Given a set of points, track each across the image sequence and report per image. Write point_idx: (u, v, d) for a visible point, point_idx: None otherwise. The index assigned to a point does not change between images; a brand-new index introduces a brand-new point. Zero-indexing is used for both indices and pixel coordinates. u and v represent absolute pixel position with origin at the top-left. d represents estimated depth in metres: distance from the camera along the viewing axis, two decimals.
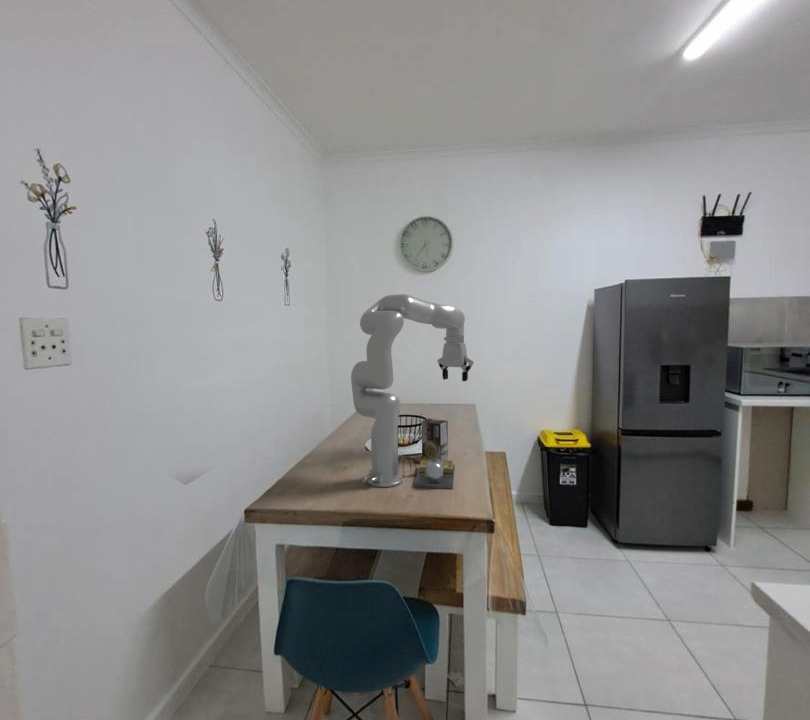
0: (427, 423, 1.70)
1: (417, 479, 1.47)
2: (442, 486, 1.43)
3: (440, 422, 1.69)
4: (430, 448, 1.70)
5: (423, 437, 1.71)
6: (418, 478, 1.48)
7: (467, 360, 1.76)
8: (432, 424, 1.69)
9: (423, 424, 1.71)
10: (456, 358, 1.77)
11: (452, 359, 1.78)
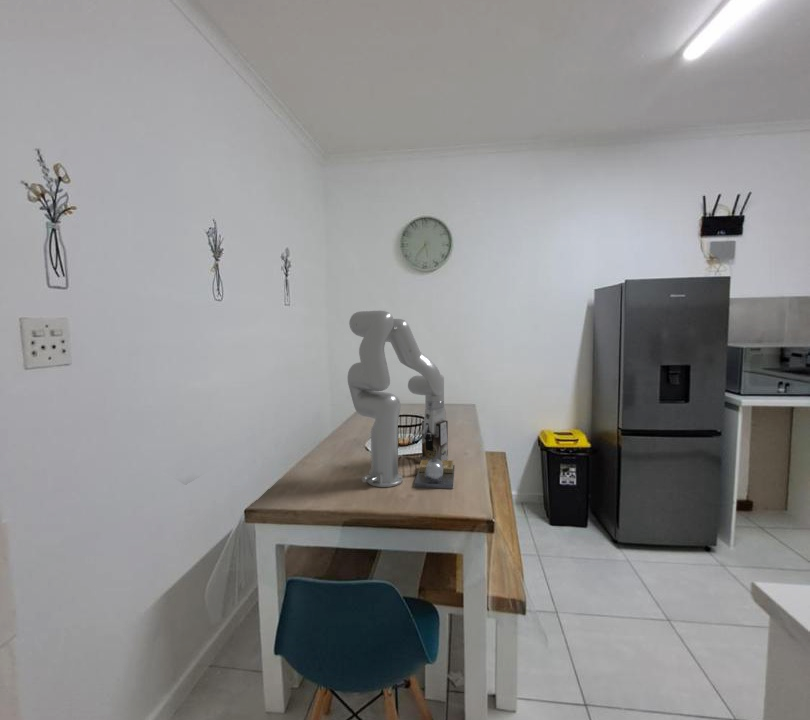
0: None
1: (417, 479, 1.47)
2: (442, 486, 1.43)
3: (440, 422, 1.69)
4: None
5: (423, 437, 1.71)
6: (418, 478, 1.48)
7: None
8: None
9: (423, 424, 1.71)
10: None
11: None
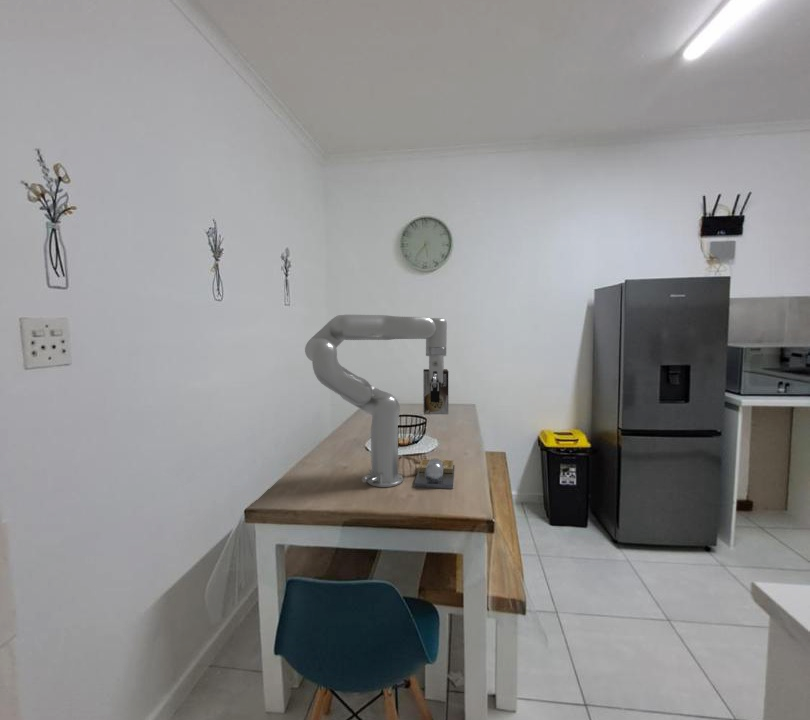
0: None
1: (417, 479, 1.47)
2: (442, 486, 1.43)
3: (444, 370, 1.54)
4: None
5: (426, 388, 1.53)
6: (418, 478, 1.48)
7: None
8: None
9: (427, 374, 1.52)
10: None
11: None
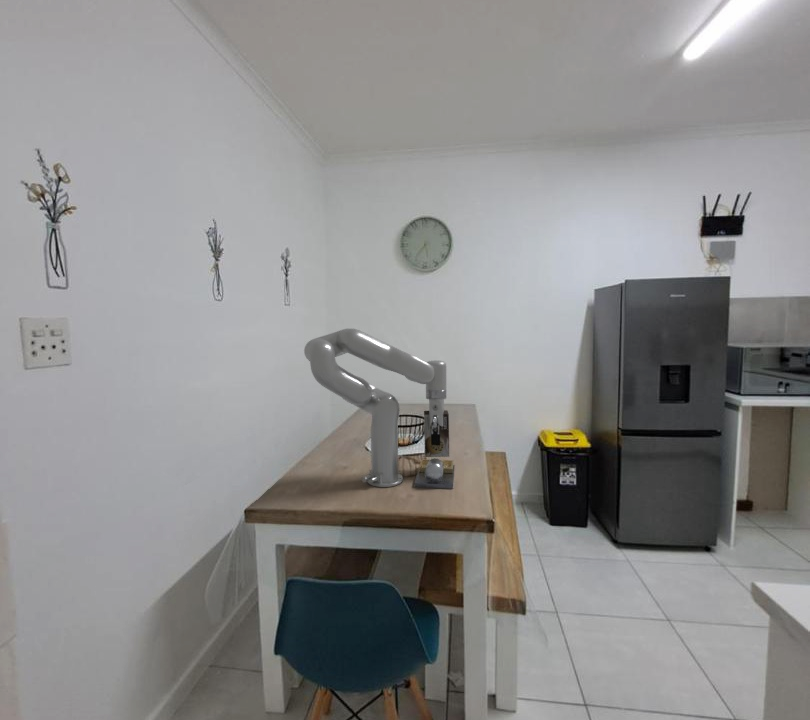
0: None
1: (417, 479, 1.47)
2: (442, 486, 1.43)
3: (445, 412, 1.55)
4: None
5: (427, 431, 1.53)
6: (418, 478, 1.48)
7: None
8: None
9: (427, 417, 1.53)
10: None
11: None
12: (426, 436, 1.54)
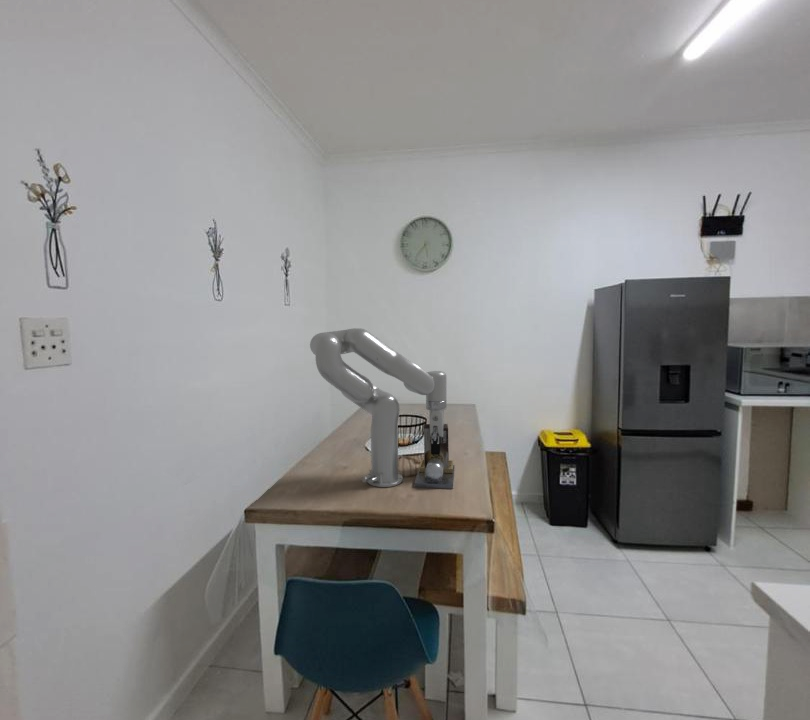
0: None
1: (417, 479, 1.47)
2: (442, 486, 1.43)
3: (444, 426, 1.55)
4: (435, 456, 1.54)
5: (426, 445, 1.54)
6: (418, 478, 1.48)
7: None
8: None
9: (426, 431, 1.54)
10: None
11: None
12: (426, 450, 1.54)
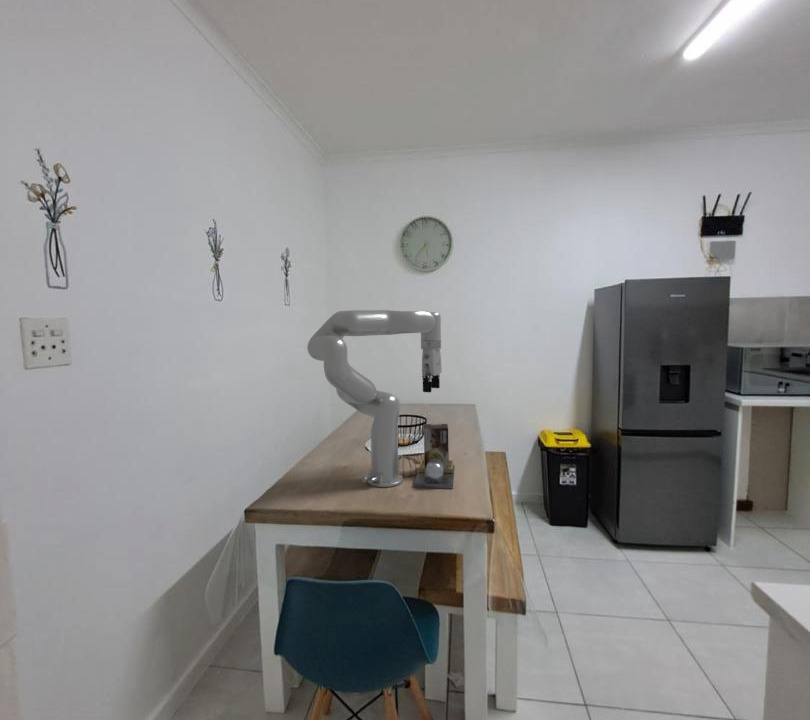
0: (431, 429, 1.53)
1: (417, 479, 1.47)
2: (442, 486, 1.43)
3: (444, 426, 1.55)
4: (435, 456, 1.54)
5: (426, 445, 1.54)
6: (418, 478, 1.48)
7: None
8: (438, 429, 1.53)
9: (426, 431, 1.54)
10: (440, 364, 1.61)
11: (438, 366, 1.60)
12: (425, 450, 1.54)
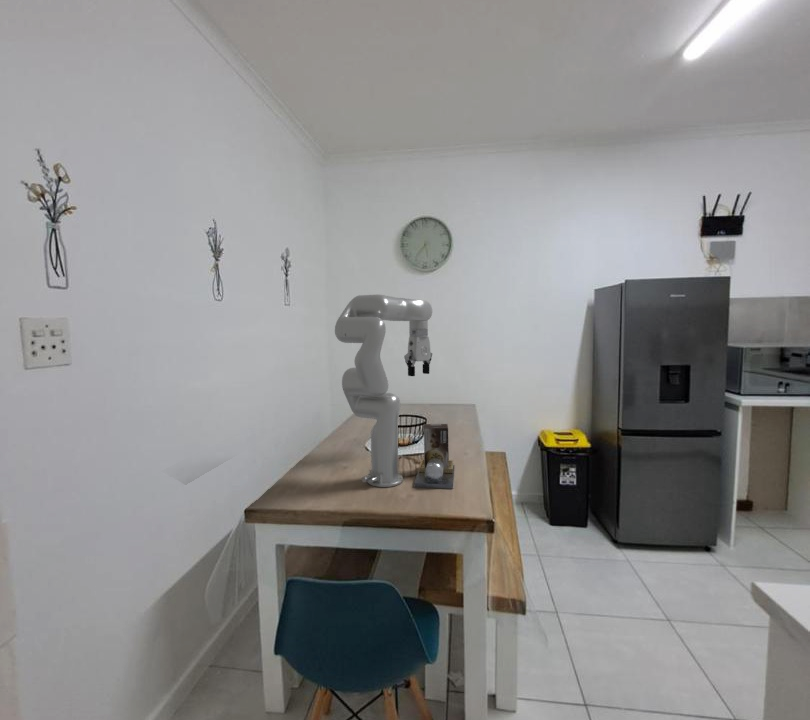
0: (431, 429, 1.53)
1: (417, 479, 1.47)
2: (442, 486, 1.43)
3: (444, 426, 1.55)
4: (435, 456, 1.54)
5: (426, 445, 1.54)
6: (418, 478, 1.48)
7: None
8: (438, 429, 1.53)
9: (426, 431, 1.54)
10: (427, 351, 1.74)
11: (425, 353, 1.73)
12: (425, 450, 1.54)
